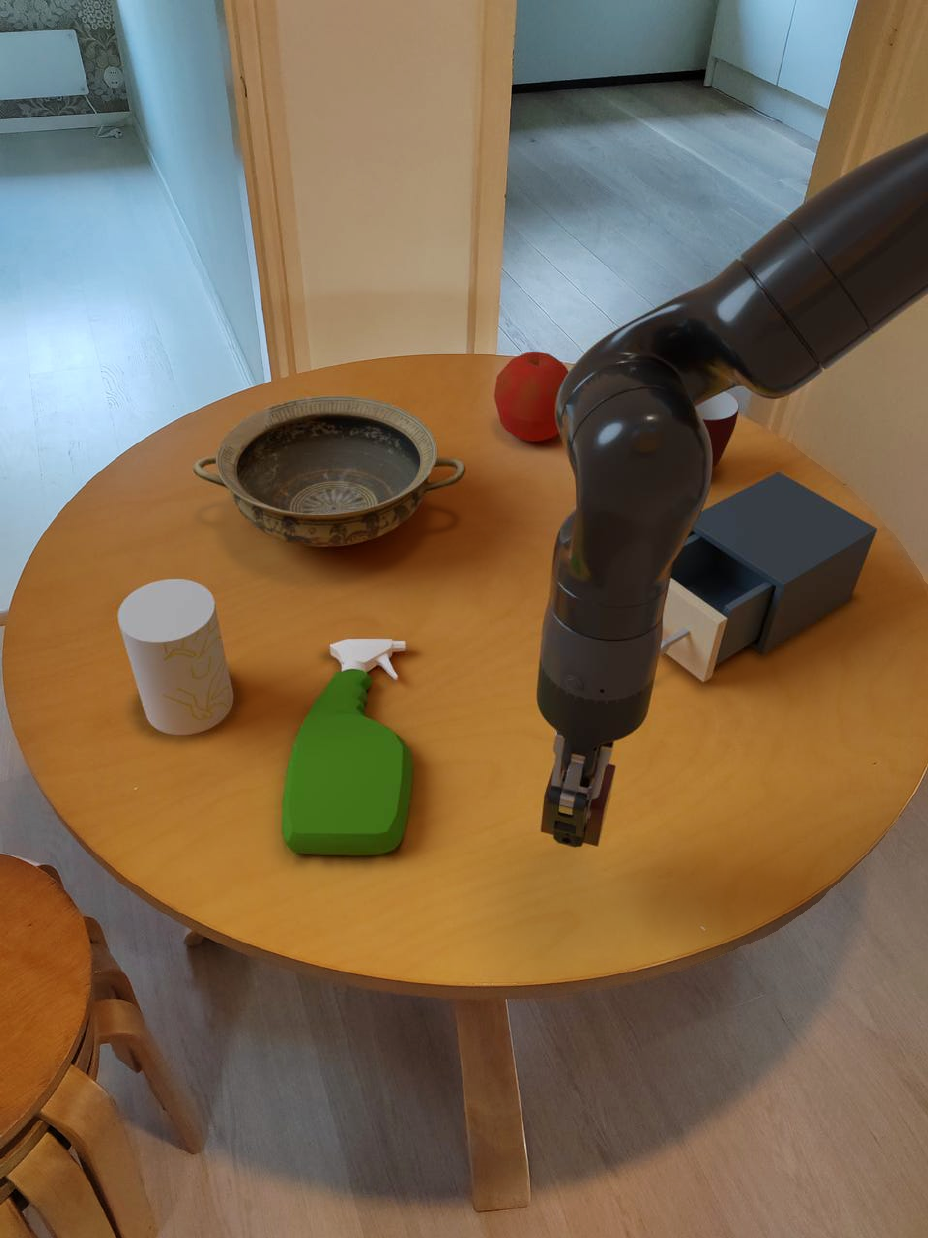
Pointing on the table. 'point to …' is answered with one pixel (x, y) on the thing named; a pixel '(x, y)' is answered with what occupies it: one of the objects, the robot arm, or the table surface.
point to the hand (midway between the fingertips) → (575, 813)
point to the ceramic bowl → (328, 469)
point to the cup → (177, 655)
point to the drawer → (711, 607)
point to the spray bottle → (348, 765)
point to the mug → (719, 421)
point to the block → (597, 808)
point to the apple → (529, 395)
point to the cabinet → (790, 550)
